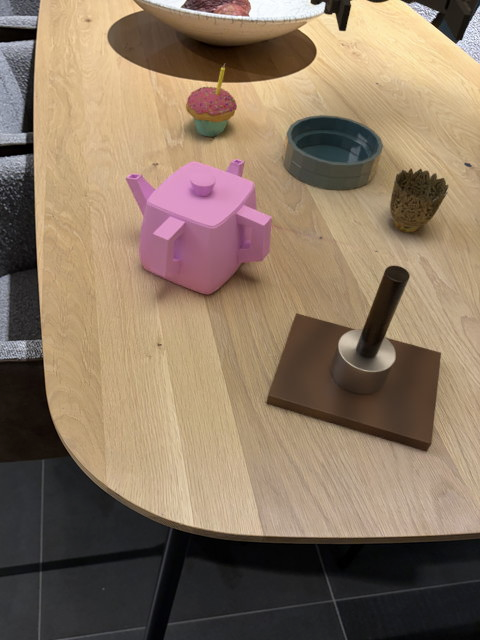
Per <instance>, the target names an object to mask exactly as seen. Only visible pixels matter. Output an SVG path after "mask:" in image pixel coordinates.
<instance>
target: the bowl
mask: <svg viewBox="0 0 480 640" xmlns="http://www.w3.org/2000/svg"><path fill="white" fill-rule="evenodd" d="M383 148H384V144H383V140H382V138H381V137H380V136H379V135H378V133H376V131H375V130H373V129H372V128H371V127H369V126H367V125H365V124H363V123H362V122H359V121H356V120H353V119H350V118H347V117H343V116H339V115H337V116H336V115H324V114H323V115H322V114H321V115H319V114H318V115H311V116H306V117H303V118H299V119H297V120H296V121H294V122H292V124H290V125H289V127H288V129H287V130H286V135H285V141H284V146H283V151H282V164H283V167H284V168H285V170H286V171H287V172H288V173H289V174H290V175H291V176H293V177H294V178H295V179H297V180H299V181H300V182H303V183H305V184H307V185H309V186H312V187H315V188H319V189H323V190H331V191H332V190H333V191H346V190H353V189H358V188H362V187H363V186H365V185H368V184H369V183H370V182H371V181H372V180H374V178H375V174H376V171H377V168H378V165H379V162H380V159H381V154H382V151H383Z"/></svg>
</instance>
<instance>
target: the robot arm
mask: <svg viewBox="0 0 480 640" xmlns="http://www.w3.org/2000/svg"><path fill="white" fill-rule="evenodd" d="M352 1H353V0H310V4H311V5H313V6H318V5H320V4H322V3H325V4H324V10H323V14H325V15H328V16H331V15H333V14H335V18H336V23H337V27H338V31H339V32H346V31H347V27H348V22H349V18H350V14H351V10H352V3H351V2H352ZM366 1H368V2H370V3H374V4H381V3H386V2H388V1H389V0H366ZM400 1H401V2H403V3H405V4H407V5H410V4H413V3H417V4H419V5H420V6H424V7H426V8H429V9H431V10H433V11H436V12H438V13H441V14H443V15H445V16H444V18H443V19H444V22H445V23H446V25H447V27H448V28H449V31H450V33H451V34H452V37H453V39H454V40H455V41H463V39H464V36H465V33H466V31H467V28H468V25H469V22H470V20H471V18H472V17H473V15H474V13H475V10H476V7H477V5H478V2H479V0H400Z"/></svg>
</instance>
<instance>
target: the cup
mask: <svg viewBox="0 0 480 640" xmlns="http://www.w3.org/2000/svg"><path fill="white" fill-rule="evenodd" d="M448 190H449V184H447V182H446V179H445V178H444V177H441V178H438V174H437V173H436V172H435V173H433V174H431V175H430V171H429V170H428V169H427V170H423V169H422V168H419V169H418V170H416V171H415V172H414V171H413V168H410V169H409V170H408V171H407V170H404V169H401V170H400V172H398V173H396V175H395V179H394V183H393V186H392V192H391V196H390V204H389V211H390V214H391V217H392V218H393V226H394V228H395V229H396V230H397V231H399V232H401V233H404V234H413V233H416V232H417V231H418V229H419V228H420V227H422V226H424V225H426V224H428V223H430V221H431V220H432V219H433V217H434V216H435V215H436V213H437V212H438V210H439V208H440V207H441V205H442V203H443V201H444V199H445V197H446V196H447V194H448Z"/></svg>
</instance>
